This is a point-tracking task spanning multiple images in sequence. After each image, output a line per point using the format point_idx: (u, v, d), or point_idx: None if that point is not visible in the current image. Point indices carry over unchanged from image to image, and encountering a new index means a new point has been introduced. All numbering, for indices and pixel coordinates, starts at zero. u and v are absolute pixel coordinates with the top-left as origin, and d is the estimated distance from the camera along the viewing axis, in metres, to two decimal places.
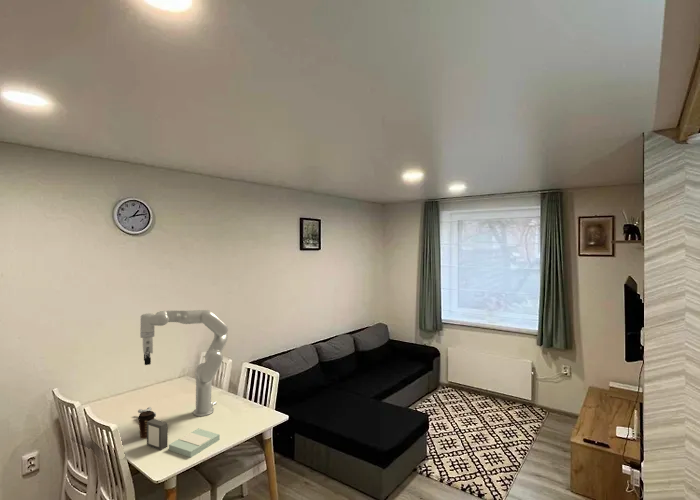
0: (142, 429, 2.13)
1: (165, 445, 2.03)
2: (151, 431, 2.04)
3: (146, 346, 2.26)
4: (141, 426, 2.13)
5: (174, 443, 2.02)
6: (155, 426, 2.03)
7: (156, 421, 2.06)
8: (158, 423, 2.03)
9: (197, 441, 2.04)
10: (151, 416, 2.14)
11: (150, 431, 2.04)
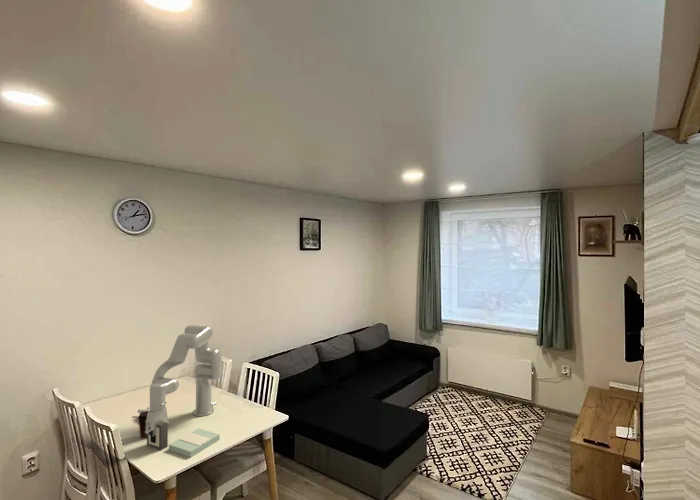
0: (142, 429, 2.13)
1: (165, 445, 2.03)
2: None
3: None
4: (141, 426, 2.13)
5: (174, 443, 2.02)
6: None
7: None
8: None
9: (197, 441, 2.04)
10: None
11: None
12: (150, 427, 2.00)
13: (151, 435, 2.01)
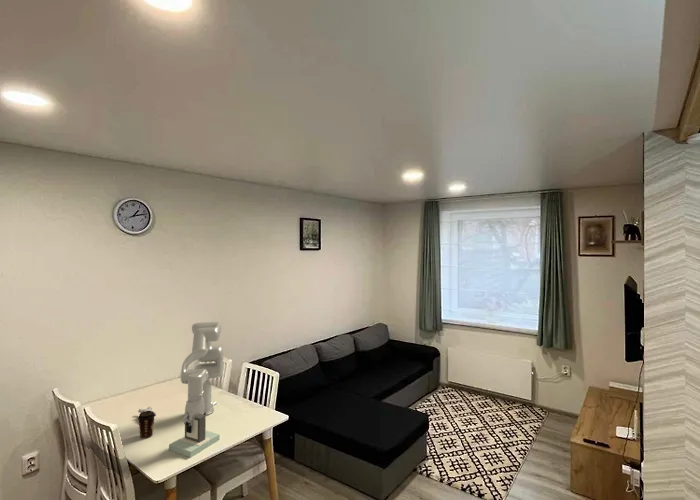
0: (142, 429, 2.13)
1: (203, 437, 2.05)
2: None
3: None
4: (141, 426, 2.13)
5: (174, 443, 2.02)
6: None
7: None
8: None
9: None
10: (151, 416, 2.14)
11: None
12: (189, 417, 2.02)
13: (187, 425, 2.02)
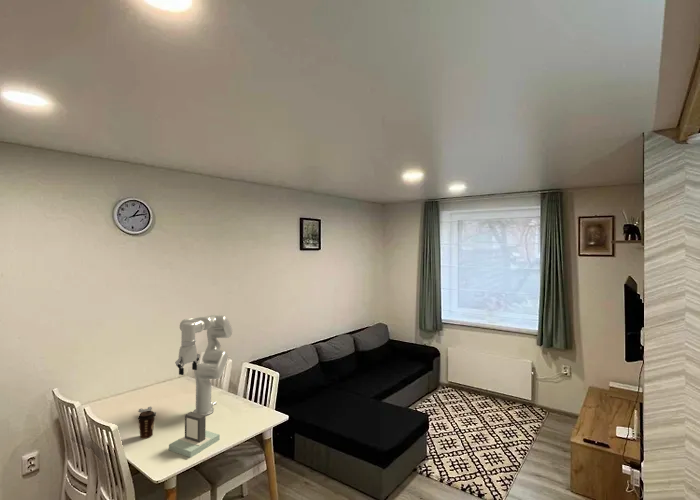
0: (142, 429, 2.13)
1: (203, 437, 2.05)
2: (189, 424, 2.06)
3: None
4: (141, 426, 2.13)
5: (174, 443, 2.02)
6: (193, 419, 2.05)
7: (194, 414, 2.08)
8: (196, 416, 2.05)
9: None
10: (151, 416, 2.14)
11: (188, 424, 2.06)
12: (182, 360, 2.20)
13: (179, 367, 2.20)
